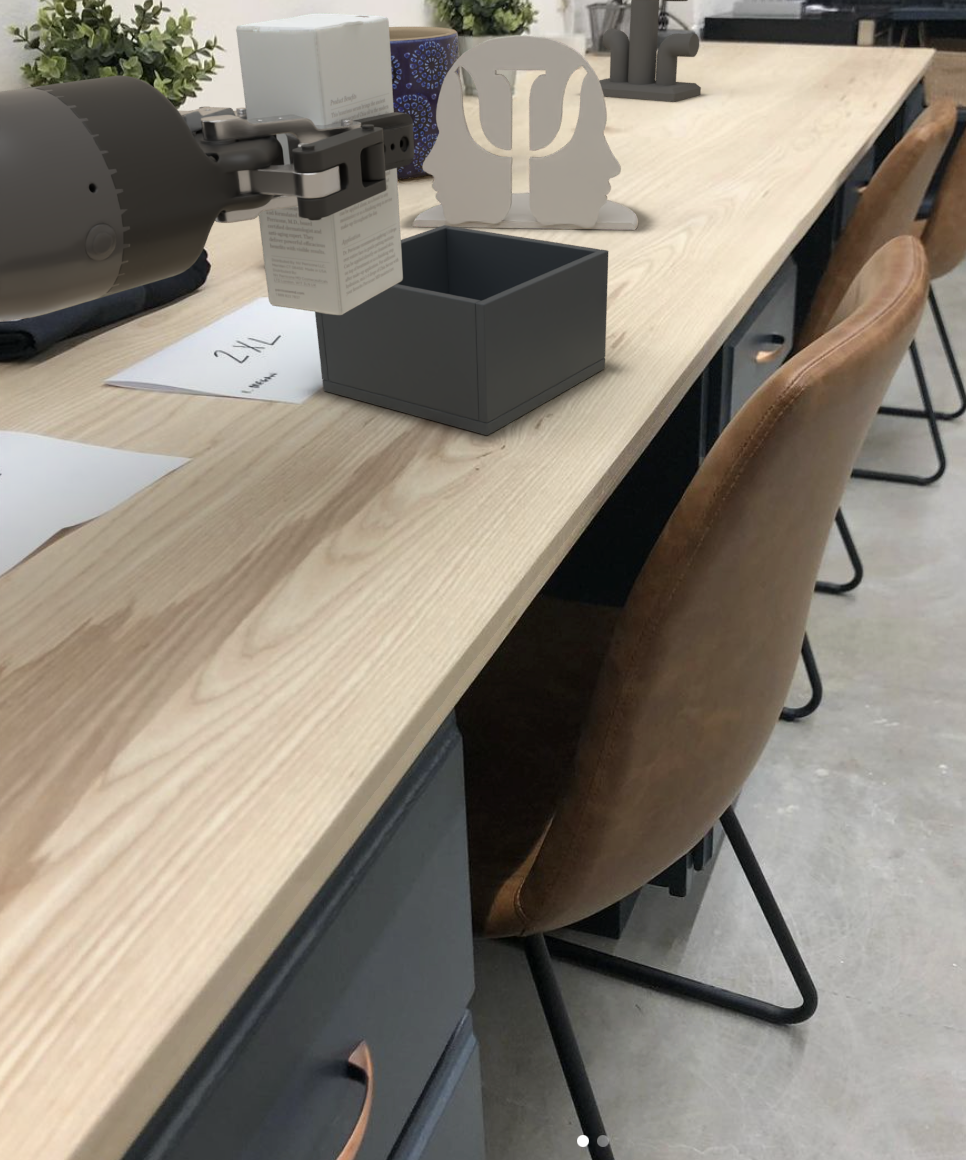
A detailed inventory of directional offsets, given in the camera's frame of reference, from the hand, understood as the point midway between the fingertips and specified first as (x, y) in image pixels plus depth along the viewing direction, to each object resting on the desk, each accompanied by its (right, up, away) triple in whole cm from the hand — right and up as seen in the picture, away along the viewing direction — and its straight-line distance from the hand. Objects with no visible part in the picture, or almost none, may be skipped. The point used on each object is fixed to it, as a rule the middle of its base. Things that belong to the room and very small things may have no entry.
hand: (361, 132), depth 52 cm
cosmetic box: (-1, -7, +2) cm, 8 cm away
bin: (+5, -8, +21) cm, 23 cm away
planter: (-5, +27, +80) cm, 85 cm away
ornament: (+11, +16, +60) cm, 63 cm away
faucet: (+34, +60, +132) cm, 149 cm away
